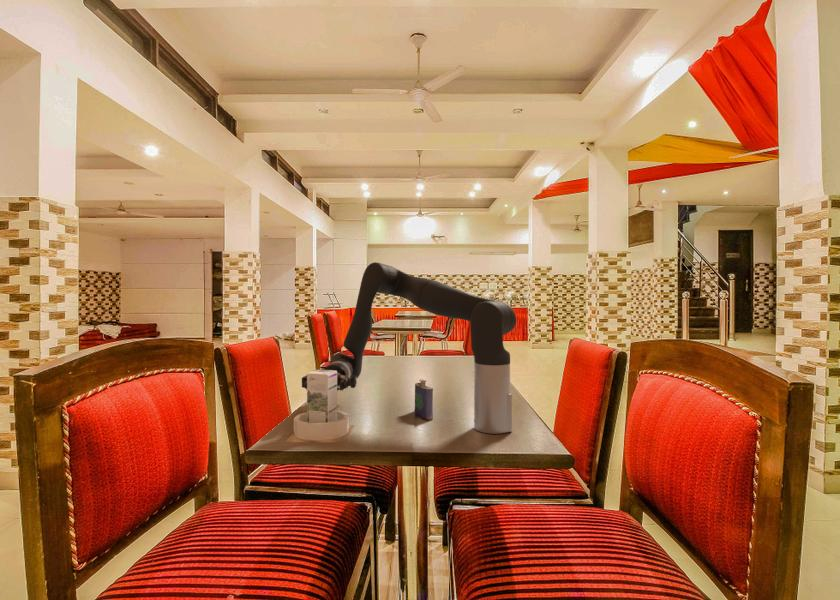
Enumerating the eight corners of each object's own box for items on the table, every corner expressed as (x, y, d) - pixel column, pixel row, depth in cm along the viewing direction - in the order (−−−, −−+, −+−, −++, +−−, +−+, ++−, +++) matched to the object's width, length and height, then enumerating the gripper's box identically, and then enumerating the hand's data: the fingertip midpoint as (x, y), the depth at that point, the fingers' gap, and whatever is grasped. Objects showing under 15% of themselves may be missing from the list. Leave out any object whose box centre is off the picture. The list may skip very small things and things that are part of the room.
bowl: (352, 425, 117) (352, 410, 117) (343, 441, 104) (343, 424, 104) (302, 425, 117) (302, 410, 117) (287, 441, 104) (287, 424, 104)
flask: (434, 420, 125) (434, 381, 124) (425, 421, 123) (425, 382, 123) (420, 412, 133) (420, 376, 133) (411, 413, 132) (411, 377, 132)
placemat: (354, 427, 117) (354, 425, 117) (345, 444, 103) (345, 442, 103) (301, 427, 117) (301, 424, 117) (284, 444, 103) (284, 441, 103)
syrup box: (338, 427, 113) (338, 369, 113) (327, 433, 107) (327, 373, 107) (317, 425, 114) (317, 368, 114) (306, 432, 108) (306, 372, 108)
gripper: (311, 362, 130) (296, 371, 114) (360, 362, 130) (352, 371, 114) (311, 388, 130) (296, 401, 114) (360, 388, 130) (352, 401, 114)
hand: (324, 386), depth 114 cm, fingers open, 8 cm apart
